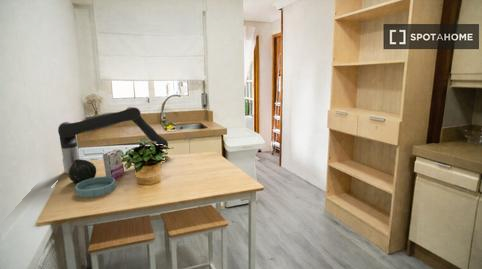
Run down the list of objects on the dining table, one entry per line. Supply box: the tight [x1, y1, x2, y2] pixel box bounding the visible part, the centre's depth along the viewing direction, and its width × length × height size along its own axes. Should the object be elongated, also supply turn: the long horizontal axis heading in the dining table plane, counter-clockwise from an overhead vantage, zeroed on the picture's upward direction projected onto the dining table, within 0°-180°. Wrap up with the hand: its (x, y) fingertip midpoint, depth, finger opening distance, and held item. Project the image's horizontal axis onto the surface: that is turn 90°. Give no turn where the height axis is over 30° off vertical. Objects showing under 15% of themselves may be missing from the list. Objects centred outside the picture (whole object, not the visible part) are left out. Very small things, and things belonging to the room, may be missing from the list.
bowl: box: [74, 176, 117, 199], centre depth 164 cm, size 20×20×4 cm
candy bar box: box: [102, 149, 125, 180], centre depth 182 cm, size 11×5×16 cm, turn 161°
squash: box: [68, 158, 97, 184], centre depth 177 cm, size 14×15×15 cm
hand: (128, 157), depth 193 cm, fingers open, 8 cm apart
